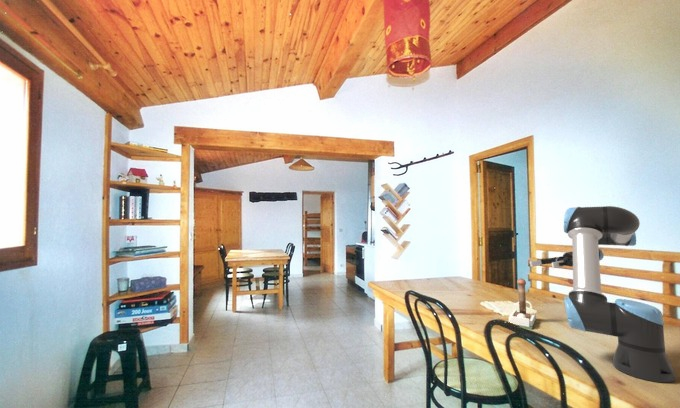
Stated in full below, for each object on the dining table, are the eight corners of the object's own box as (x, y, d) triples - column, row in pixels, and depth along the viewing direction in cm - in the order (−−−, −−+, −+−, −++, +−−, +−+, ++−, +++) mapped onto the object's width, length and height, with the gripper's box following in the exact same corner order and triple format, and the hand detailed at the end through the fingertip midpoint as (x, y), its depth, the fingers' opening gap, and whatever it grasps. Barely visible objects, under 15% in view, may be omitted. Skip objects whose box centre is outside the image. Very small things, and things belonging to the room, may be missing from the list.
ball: (526, 321, 154) (525, 323, 151) (517, 319, 156) (516, 321, 153) (526, 313, 154) (525, 315, 151) (517, 312, 157) (516, 313, 154)
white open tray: (531, 329, 145) (531, 319, 146) (508, 325, 151) (507, 316, 152) (536, 319, 161) (535, 310, 161) (514, 315, 167) (514, 307, 167)
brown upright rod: (529, 321, 153) (527, 280, 155) (514, 318, 157) (513, 278, 159) (530, 318, 157) (529, 278, 159) (516, 316, 161) (514, 277, 163)
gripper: (600, 266, 148) (565, 273, 143) (555, 264, 172) (524, 270, 167) (596, 251, 148) (561, 258, 144) (552, 251, 173) (521, 257, 168)
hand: (541, 264), depth 156 cm, fingers open, 13 cm apart
